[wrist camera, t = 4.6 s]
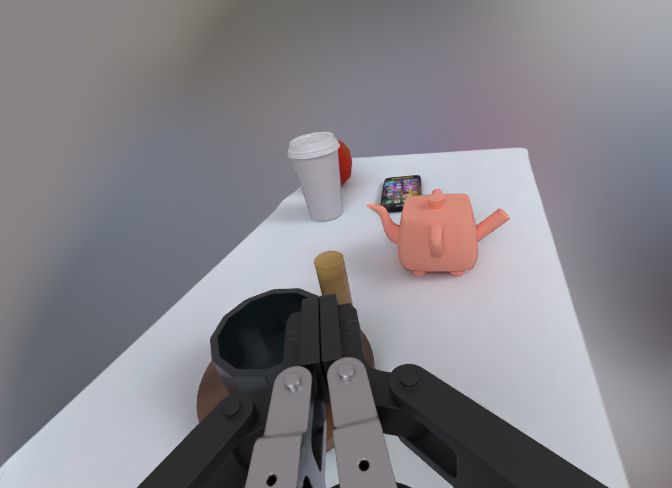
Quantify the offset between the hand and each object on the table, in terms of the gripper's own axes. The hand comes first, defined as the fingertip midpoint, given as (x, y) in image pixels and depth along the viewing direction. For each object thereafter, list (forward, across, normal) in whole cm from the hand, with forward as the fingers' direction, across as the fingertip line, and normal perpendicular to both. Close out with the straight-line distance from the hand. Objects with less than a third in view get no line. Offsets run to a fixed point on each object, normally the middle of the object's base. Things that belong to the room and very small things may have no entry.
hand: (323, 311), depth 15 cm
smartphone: (+54, -14, +20) cm, 59 cm away
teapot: (+30, -13, +20) cm, 38 cm away
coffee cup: (+52, +2, +20) cm, 55 cm away
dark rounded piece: (+13, +7, +20) cm, 25 cm away
